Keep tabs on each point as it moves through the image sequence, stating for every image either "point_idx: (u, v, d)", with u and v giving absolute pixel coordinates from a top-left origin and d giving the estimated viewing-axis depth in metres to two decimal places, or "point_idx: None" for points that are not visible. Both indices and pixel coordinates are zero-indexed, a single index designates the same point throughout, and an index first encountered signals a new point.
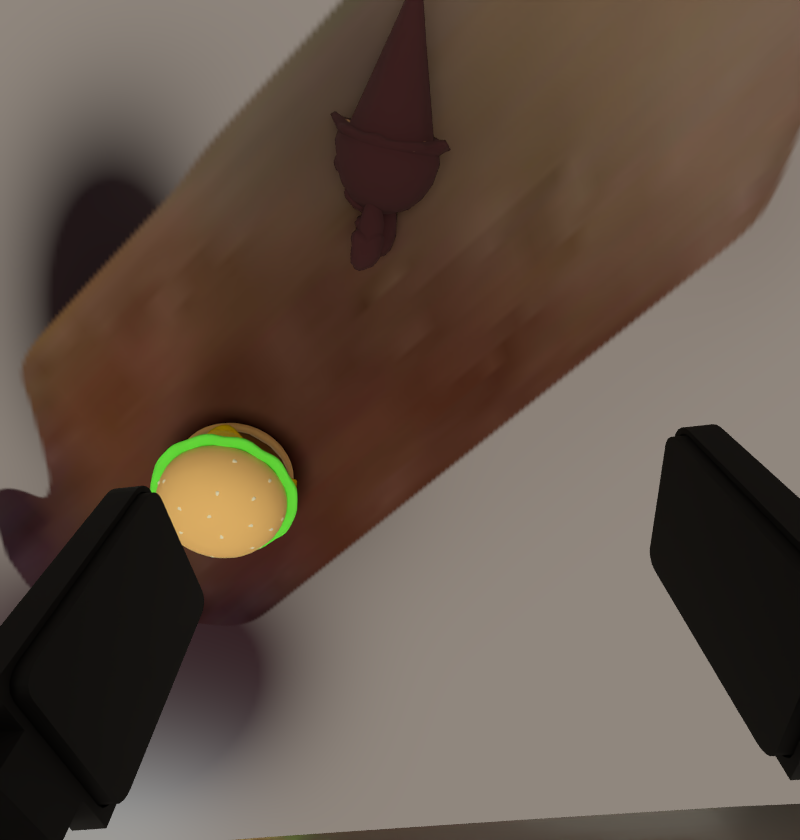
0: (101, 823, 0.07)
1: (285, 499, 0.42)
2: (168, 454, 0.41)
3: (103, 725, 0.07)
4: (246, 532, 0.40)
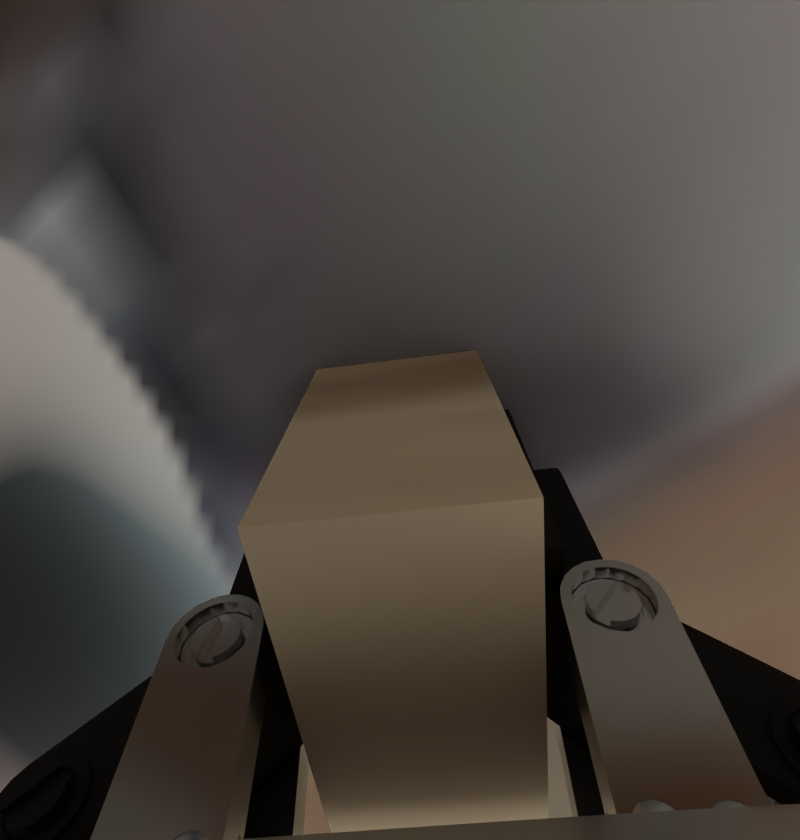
0: None
1: None
2: None
3: None
4: None
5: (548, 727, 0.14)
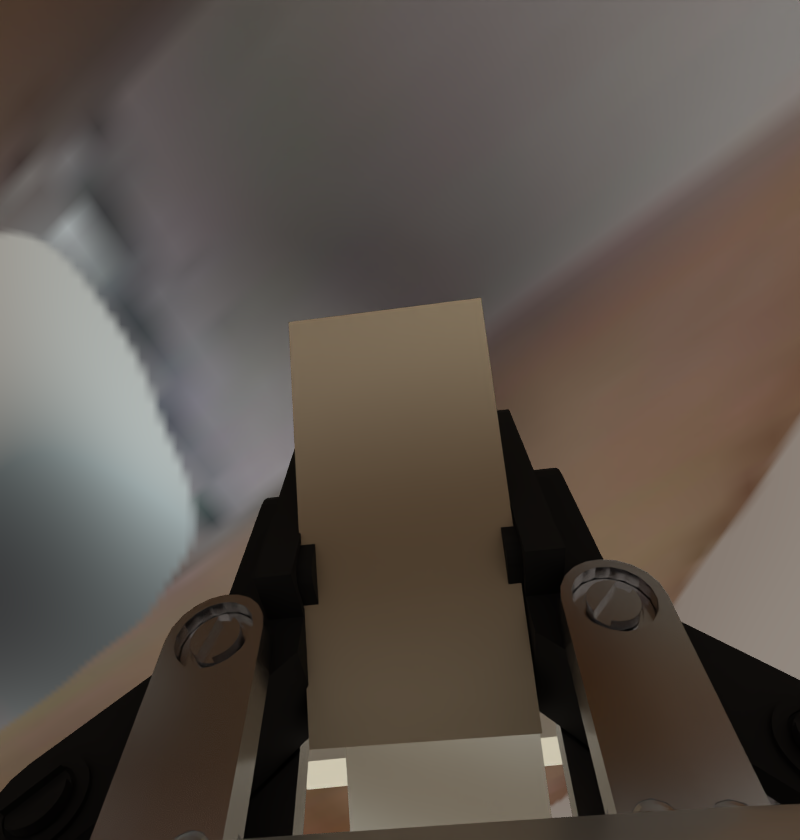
0: None
1: None
2: None
3: None
4: None
5: None
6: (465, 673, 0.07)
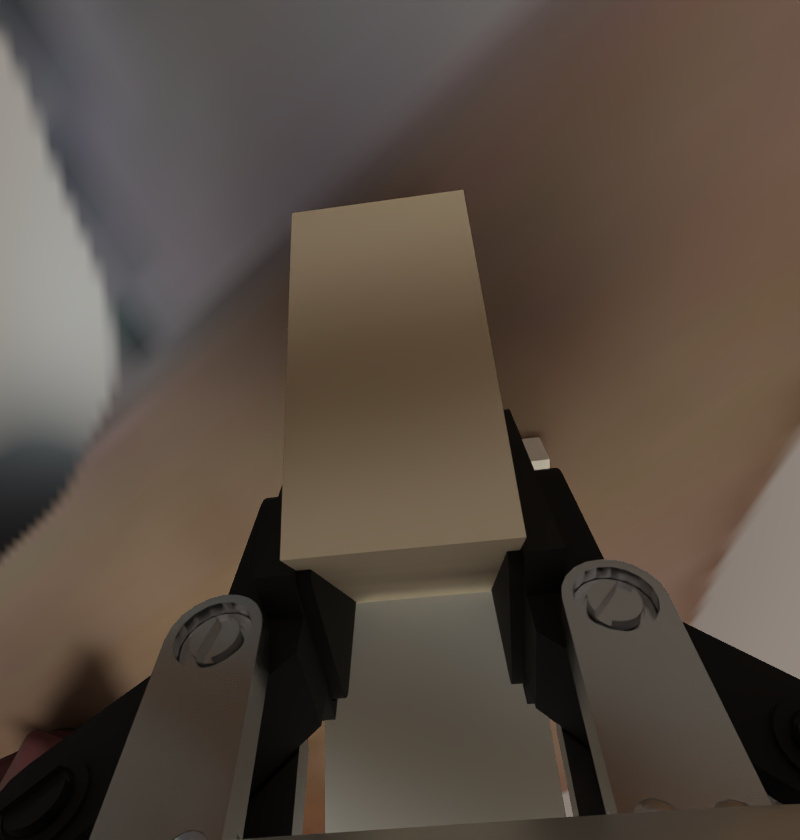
0: (334, 714, 0.08)
1: None
2: None
3: (336, 627, 0.08)
4: None
5: None
6: (445, 483, 0.06)
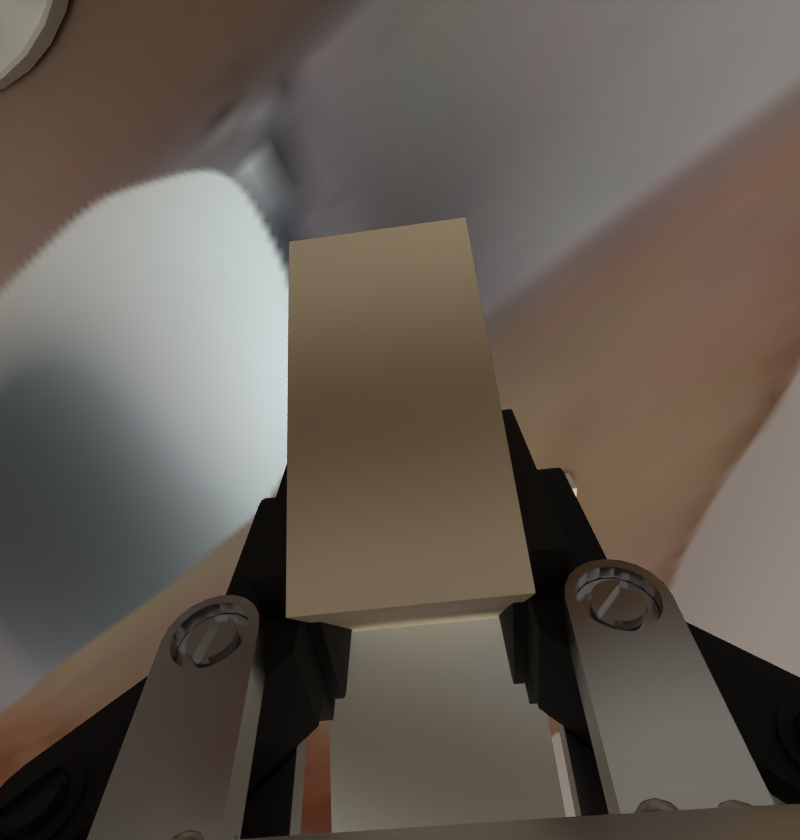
0: (332, 714, 0.08)
1: None
2: None
3: (333, 627, 0.08)
4: None
5: None
6: (452, 536, 0.06)
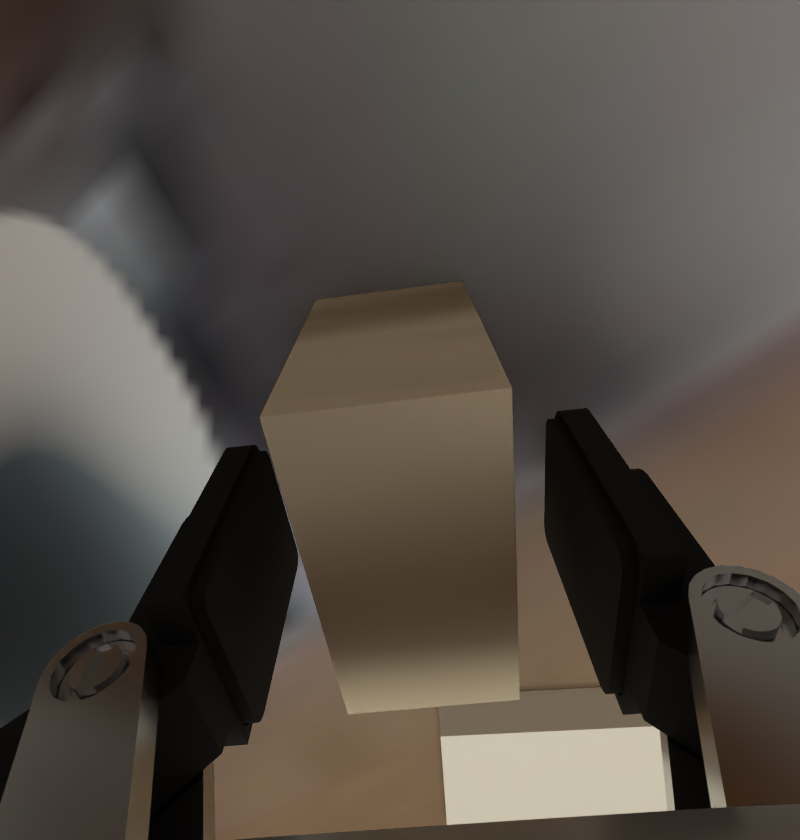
0: (244, 739, 0.08)
1: None
2: None
3: (246, 650, 0.08)
4: None
5: (550, 741, 0.16)
6: (466, 676, 0.09)
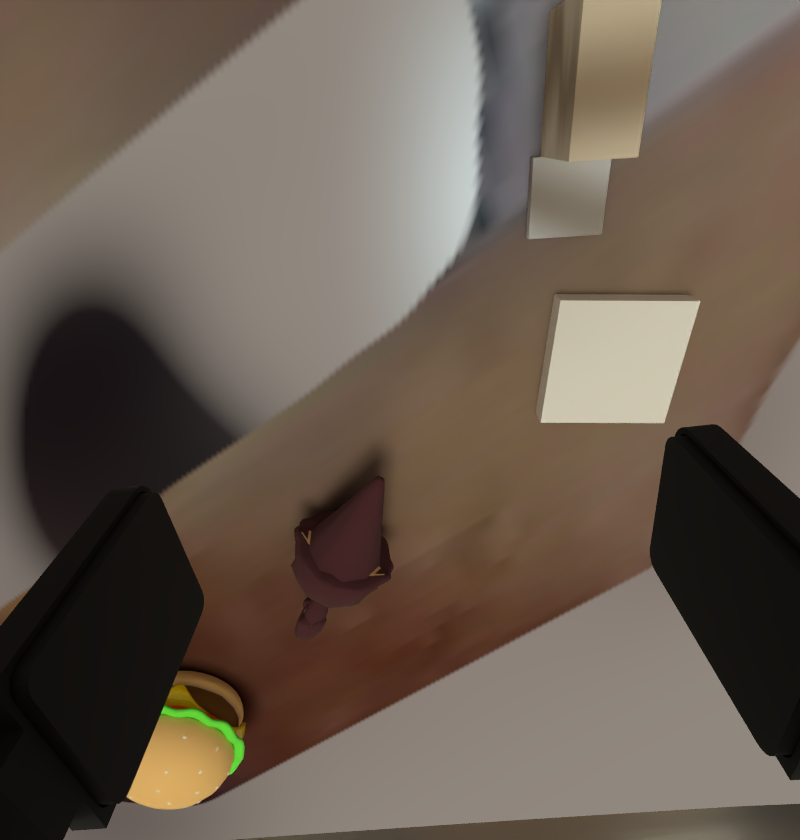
0: (101, 823, 0.07)
1: (232, 755, 0.45)
2: None
3: (103, 725, 0.07)
4: (193, 797, 0.43)
5: (618, 310, 0.29)
6: (620, 138, 0.22)
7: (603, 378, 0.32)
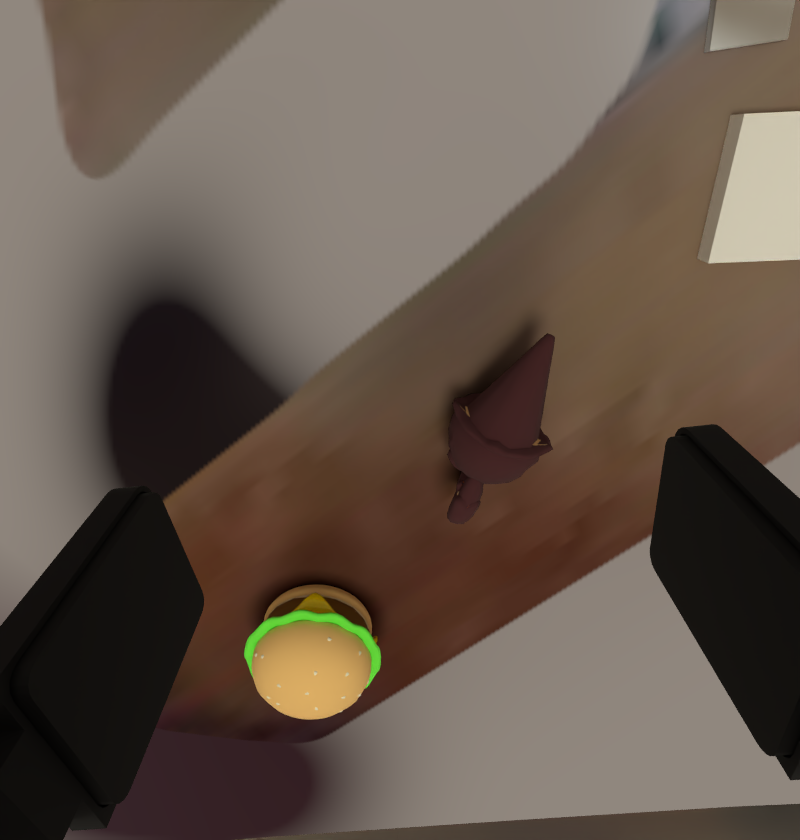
0: (101, 823, 0.07)
1: (371, 663, 0.45)
2: (264, 627, 0.43)
3: (103, 725, 0.07)
4: (339, 702, 0.43)
5: None
6: None
7: (779, 206, 0.30)
